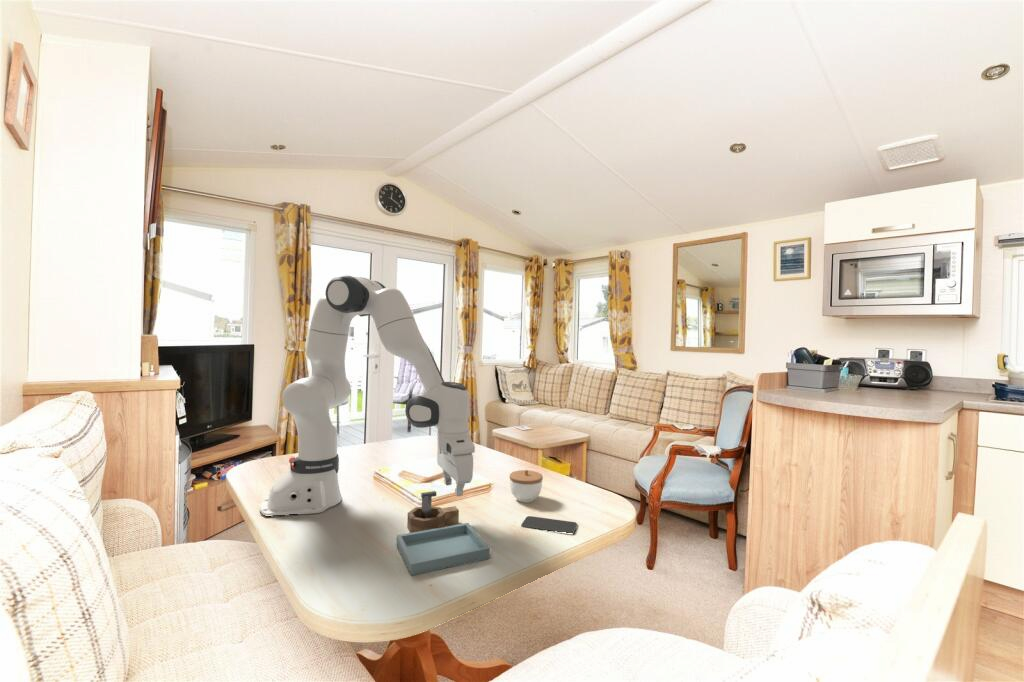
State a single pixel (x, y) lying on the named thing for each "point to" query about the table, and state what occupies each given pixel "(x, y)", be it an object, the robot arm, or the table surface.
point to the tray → (441, 548)
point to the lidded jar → (525, 485)
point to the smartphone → (549, 524)
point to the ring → (432, 518)
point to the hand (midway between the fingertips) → (453, 489)
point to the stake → (427, 503)
